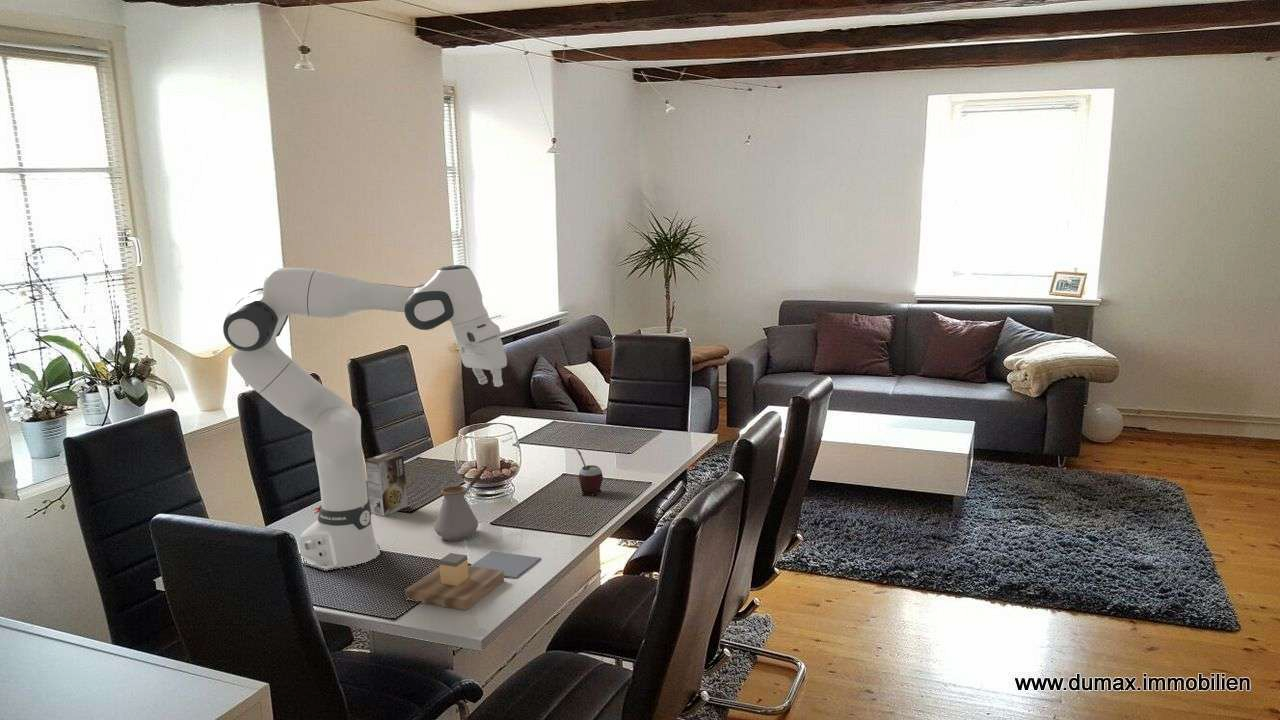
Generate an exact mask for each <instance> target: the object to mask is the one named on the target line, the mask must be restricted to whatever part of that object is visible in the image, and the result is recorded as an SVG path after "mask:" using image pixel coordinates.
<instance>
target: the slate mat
mask: <svg viewBox="0 0 1280 720" xmlns="http://www.w3.org/2000/svg"><path fill="white" fill-rule="evenodd" d="M540 560H542V559H541V557H537V556H531V555H523V554H516V553H511V552H501V551H495V550H492V551H490V552H489V553H487V554H485V555H484V556H482V557H481V558H479V559H478V560H477V561H475V562H474V563H472V565H470V566H473V567H480V568H486V569H493V570H500V571H503V574H504V578H508V579H515V580H516V579H517V578H519V577H520V576H521V575H523V574H524V573H525V572H526V571H528V570H529V569H530V568H532V567H533V566H534V565H536V564H537V563H538V562H539V561H540Z"/></svg>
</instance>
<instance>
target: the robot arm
mask: <svg viewBox="0 0 1280 720" xmlns="http://www.w3.org/2000/svg"><path fill="white" fill-rule="evenodd" d="M369 310H375V311H376V310H377V311H378V310H380V311H389V312H394V313H395V312H396V313H397V312H398V313H404V316H405V318H406V320H407V321H408V323H409V325H411V326H412V327H413V328H415V329H418V330H422V331H429V330H434V329H436V328H438V327H440V326H441V325H443V324H444V323H446V322H448V321H449V322H450V323H451V326H452V330H453V332H454V335H455V338H456V341H457V347H458V351H459V356H460V358H461V362H462V365H463V366H464V367H465V368H470V369H471V370H472V372H473V374H474V376H475V377H476V378H477V380H478V384H480V385H486V384H488V381H489V380H488V378H487V376H486V374H485V372H484V371H483V370H487V371H490V374H491V375H492V378H493V379H492V380H491V381H492V383H493V386H494V387H497V388H500V387H502V386H503V385H504V382H503V378H502V369H503V368H505V367H506V368H507V366H508V359H507V355H506V354H507V353H506V351H505V347H504V343H503V341H502V339H501V336H499V335H501V329H500V326H499V325H498V324H497V323H495V322H493V321H492V319H491V318H490V316H489V313H488V311H487V309H486V308H485V305H484V303H483V294H482V291H481V288H480V286H479V283H478V280H477V278H476V275H475V274H474V272H473V271H472V269H471V268H470V267H468V266H466V265H463V264H461V265H460V264H454V265H448V266H443V267H440V268H438V269H437V271H436V272H435V274H434V275H433V276H432V277H431V278H430V279H429V280H428V281H427V282H426V283H424V284H420V285H417V286H401V285H392V284H391V285H390V284H385V283H384V284H383V283H375V282H371V281H370V282H369V281H366V280H361V279H360V278H359V279H358V278H354V277H351V276H347V275H344V274H340V273H337V272H333V271H328V270H323V269H316V268H306V267H278V268H274V269H272V270H270V271H269V272H268V274H267V275H266V277H265V279H264V282H263V287H260V288H259V287H258V288H256V289H254V290H252V291H251V292H249V293H248V294H247V295H246V296H244V297H242V298H241V299H240V300H239V301H237V303H236V304H235V306H234V307H233V309H231V310H230V311H229V312H228V313H227V315H226V317H225V319H224V321H223V329H222V330H223V331H222V333H223V336H224V338H225V340H226V342H228V344H229V345H230V346H231V347H233V348H234V350H233V352H232V355H231V366H233V368H234V370H236V371H237V373H238V375H240V377H241V378H242V379H243V380H244V381H245V383H247V384H248V385H249V386H250V387H251V388H252V389H253V390H254V391H255V392H256V393H258V394H259V395H260V396H261V397H262V398H264V399H265V400H266V401H267V402H268V403H269V404H271V405H272V406H273V407H274V408H275V409H276V410H278V411H279V412H280V413H282V414H283V415H284V416H286V417H287V418H290V419H292V420H294V421H296V422H297V423H299V424H300V425H302V426H303V427H305V428H307V429H309V431H311V432H312V433H311V436H312V437H311V438H312V446H313V452H314V458H315V464H316V468H317V469H316V471H317V474H318V481H319V490H320V491H319V492H320V500H321V505H319V507H317V508H315V509H313V514H318V516H317V519H316V521H314V522H313V523H312V524H311V525H309V526H308V527H307V528H306V529H305V530H304V531H303V532H302V533H301V534H300V537H299V540H298V549H299V550H300V554H301V558H302V562H303V564H304V561H305V562H306V561H307V563H309V564H311V565H315V566H318V567H321V568H324V569H329V568H334V567H342V566H350V565H356V564H360V563H364V562H368V561H370V560H372V559H374V558H375V559H377V558H378V557H379V556H380V554H381V551H380V549H379V546H378V543H377V540H376V536H375V532H374V528H373V524H372V521H371V520H372V513H371V505H370V501H369V494H368V484H367V474H366V466H365V462H364V461H365V460H364V455H363V454H364V453H363V445H362V434H361V433H362V418H361V415H360V412H358V410H357V409H356V408H355V407H354V406H353V405H352V404H350V403H349V402H347V401H346V400H345V399H344V398H342V397H341V396H340V395H338V394H337V393H335V392H333V391H332V390H331V389H330V388H328V387H326V386H324V384H322V383H321V382H319V381H318V380H317V379H316V378H314V376H312V375H311V374H310V373H309V372H307V371H306V370H305V369H304V368H303V367H302V366H300V365H299V364H298V363H297V362H296V361H295V360H293V359H292V357H290V356H289V355H287V354H286V353H285V352H284V351H283V350H282V349H281V348H280V346H279V345H278V343H277V337H279V336H280V335H281V333H282V332H283V329H284V327H285V325H286V323H287V321H288V318H289V315H300V316H305V317H313V318H325V319H329V318H343V317H346V316H349V315H351V314H355V313H359V312H362V311H369ZM378 555H379V556H378ZM377 556H378V557H377ZM376 557H377V558H376ZM303 558H304V561H303ZM375 559H374V560H375ZM372 561H373V560H372ZM370 562H371V561H370ZM368 563H369V562H368ZM324 565H327V566H324Z"/></svg>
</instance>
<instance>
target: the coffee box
mask: <svg viewBox="0 0 1280 720" xmlns="http://www.w3.org/2000/svg"><path fill="white" fill-rule="evenodd" d="M364 461H365V462H364V464H365V473H366V483H367V493H368V500H369V501H370V505H371V514H373V513H374V515H378V516H381V517H386V516H389V515H391V514H394V513H396V512H399V511H401V510H403V509H402V508H404V509H406V508H408V507H409V501H408V500H409V498H408V490H407V489H408V488H407V480H406V470H405V469H406V468H405V462H404V461H405V460H404V454H401V453H399V452H393V451H387V452H385V453H381V454H378V455H375V456H372V457H369V458H366V459H365V460H364ZM407 506H408V507H407ZM405 507H406V508H405ZM400 509H401V510H400ZM398 510H399V511H398Z"/></svg>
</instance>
